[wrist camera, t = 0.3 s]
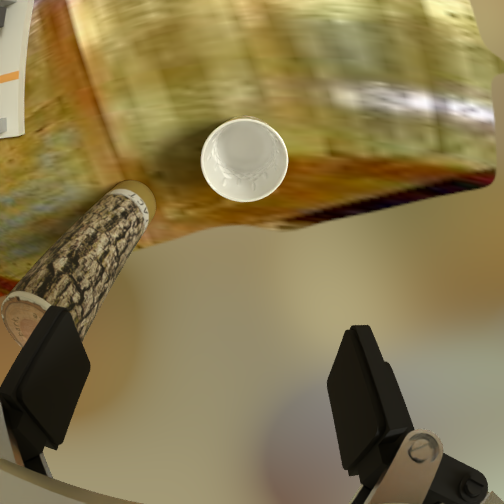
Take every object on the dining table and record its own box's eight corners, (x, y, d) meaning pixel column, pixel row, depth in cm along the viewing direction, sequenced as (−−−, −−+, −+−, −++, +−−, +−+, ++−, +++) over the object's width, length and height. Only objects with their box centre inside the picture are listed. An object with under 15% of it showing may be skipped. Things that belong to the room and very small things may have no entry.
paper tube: (117, 227, 42) (27, 360, 20) (106, 182, 38) (-12, 295, 16) (161, 223, 41) (89, 368, 20) (152, 175, 38) (50, 295, 16)
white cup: (222, 180, 39) (215, 211, 30) (204, 121, 35) (189, 132, 26) (284, 165, 38) (296, 190, 29) (269, 103, 34) (276, 109, 25)
